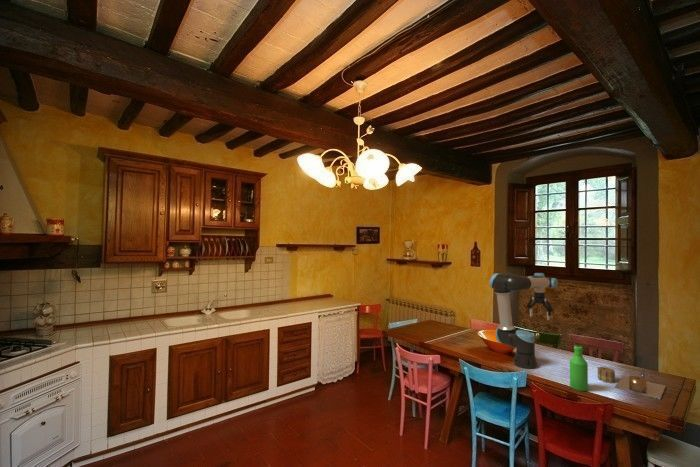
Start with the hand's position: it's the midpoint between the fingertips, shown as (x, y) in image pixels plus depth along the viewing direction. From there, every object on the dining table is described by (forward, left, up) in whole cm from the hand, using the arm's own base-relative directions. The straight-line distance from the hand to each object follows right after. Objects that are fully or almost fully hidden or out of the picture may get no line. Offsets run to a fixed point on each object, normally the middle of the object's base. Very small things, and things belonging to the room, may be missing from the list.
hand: (539, 318), depth 268 cm
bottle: (-59, -42, -26) cm, 77 cm away
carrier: (-29, -66, -26) cm, 76 cm away
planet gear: (-32, -50, -26) cm, 64 cm away
